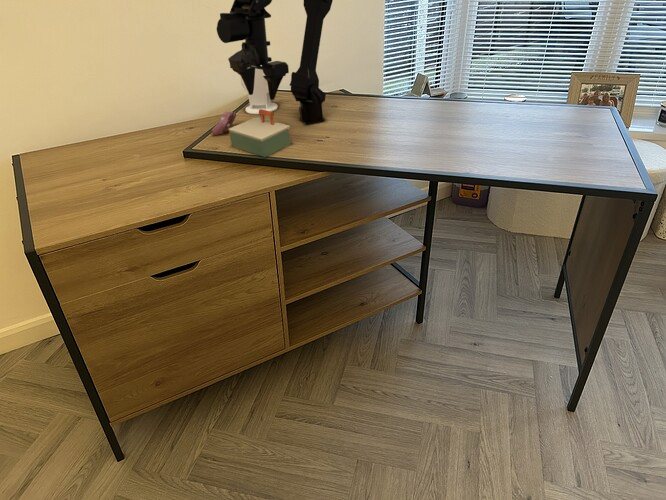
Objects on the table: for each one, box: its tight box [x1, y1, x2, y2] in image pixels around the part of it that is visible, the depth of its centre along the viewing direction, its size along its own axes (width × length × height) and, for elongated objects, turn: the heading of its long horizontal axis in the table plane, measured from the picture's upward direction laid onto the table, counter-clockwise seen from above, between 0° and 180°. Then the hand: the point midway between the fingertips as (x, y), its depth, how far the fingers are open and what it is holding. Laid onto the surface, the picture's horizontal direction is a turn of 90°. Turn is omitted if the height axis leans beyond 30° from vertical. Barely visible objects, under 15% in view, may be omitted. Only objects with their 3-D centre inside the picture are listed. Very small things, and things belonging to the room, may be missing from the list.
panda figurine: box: [240, 68, 278, 115], centre depth 164 cm, size 12×11×15 cm
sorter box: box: [228, 128, 291, 158], centre depth 141 cm, size 10×14×5 cm
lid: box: [228, 109, 291, 141], centre depth 138 cm, size 11×14×4 cm
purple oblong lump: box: [211, 109, 237, 136], centre depth 152 cm, size 10×5×7 cm, turn 168°
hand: (261, 97), depth 137 cm, fingers open, 9 cm apart
